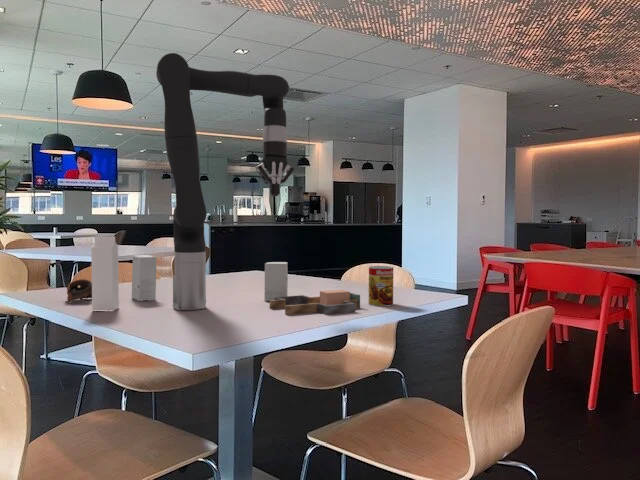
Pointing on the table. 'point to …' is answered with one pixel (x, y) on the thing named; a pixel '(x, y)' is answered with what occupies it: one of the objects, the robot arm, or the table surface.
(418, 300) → the table surface
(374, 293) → the canned food
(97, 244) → the milk
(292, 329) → the table surface
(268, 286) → the supplement box
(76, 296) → the brown dome piece
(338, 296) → the block
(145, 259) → the skincare box
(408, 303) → the table surface
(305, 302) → the channel
